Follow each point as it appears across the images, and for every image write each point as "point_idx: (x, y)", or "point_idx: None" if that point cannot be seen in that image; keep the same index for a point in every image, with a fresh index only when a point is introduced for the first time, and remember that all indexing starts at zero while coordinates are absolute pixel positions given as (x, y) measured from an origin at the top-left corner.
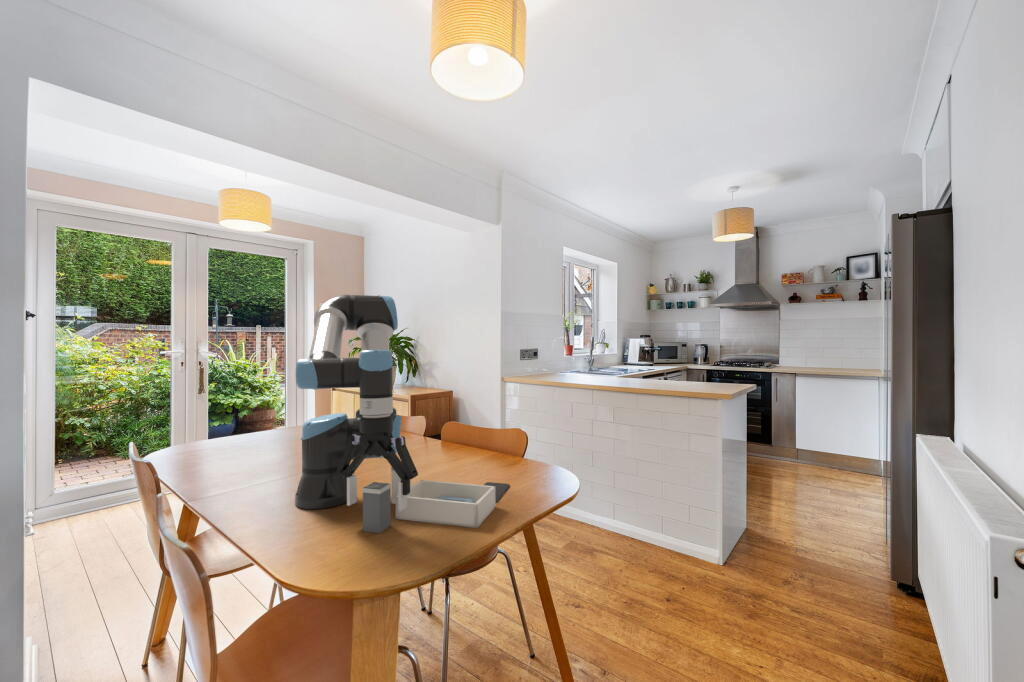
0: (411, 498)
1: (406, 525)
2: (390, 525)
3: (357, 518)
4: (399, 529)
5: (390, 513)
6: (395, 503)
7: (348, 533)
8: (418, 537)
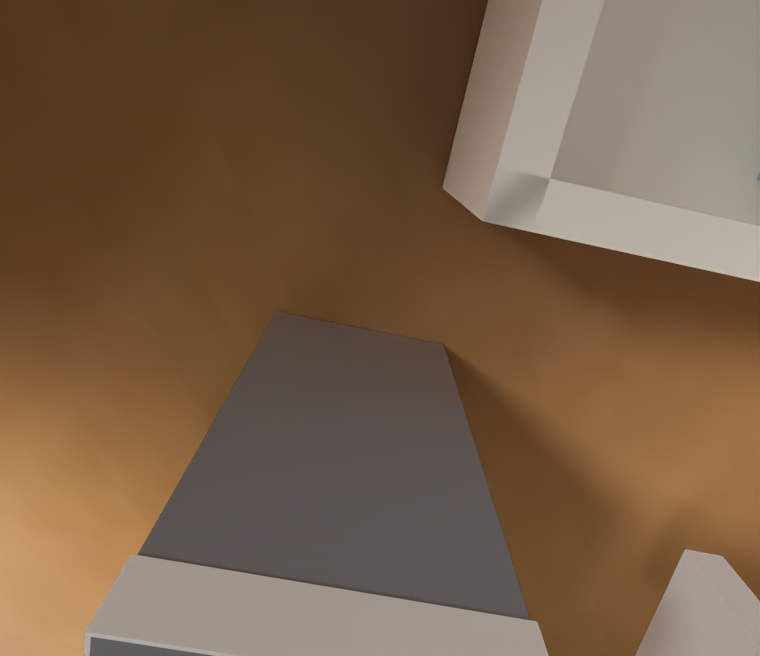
0: (752, 277)
1: (585, 333)
2: (443, 347)
3: (49, 198)
4: (541, 411)
5: (458, 395)
6: (464, 205)
7: (159, 494)
8: (715, 528)
